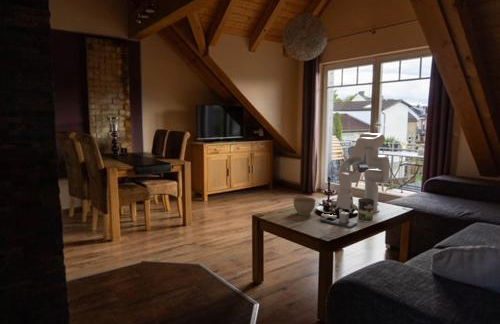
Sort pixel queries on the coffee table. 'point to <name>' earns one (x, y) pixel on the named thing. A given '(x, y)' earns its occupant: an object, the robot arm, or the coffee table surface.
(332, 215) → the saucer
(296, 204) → the planter bowl
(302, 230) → the coffee table surface
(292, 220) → the coffee table surface
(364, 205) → the coffee can
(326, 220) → the dark grey flat plate
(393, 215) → the coffee table surface
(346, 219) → the light grey block
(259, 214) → the coffee table surface
